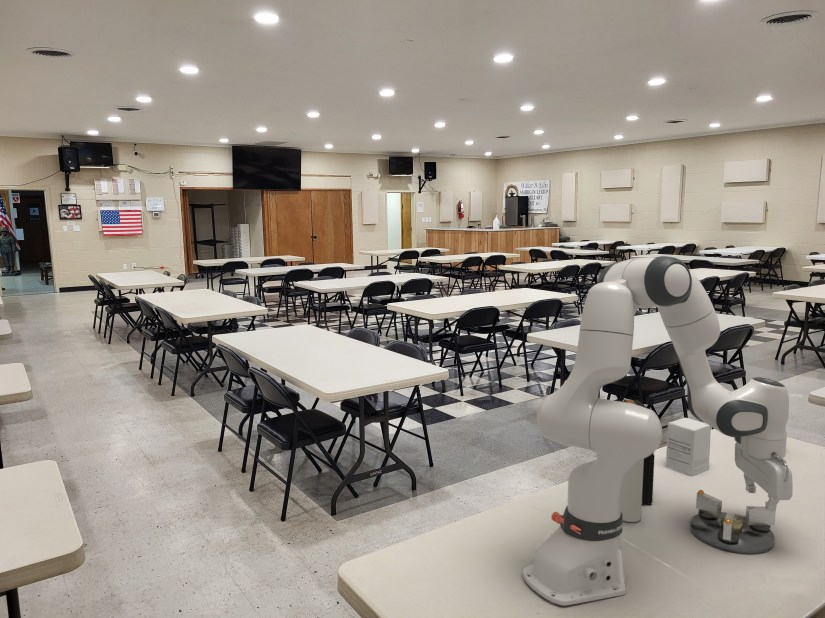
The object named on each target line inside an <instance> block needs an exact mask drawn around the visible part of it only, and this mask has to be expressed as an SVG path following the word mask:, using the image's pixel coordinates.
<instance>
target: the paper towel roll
mask: <svg viewBox="0 0 825 618" xmlns="http://www.w3.org/2000/svg"><path fill="white" fill-rule="evenodd" d="M643 464H644V459H642V460H640V461H639V462H637V463H636V464H635V465H634V466H633V467H632V468H631V469H630V471H629V472H628V474H627V476H626V478H625V481H624V485H623V491H622V500H621V513H622V515H623V522H628V523H637V522H639V521H641V519H642V509H643V507H642V504H643V503H642V486H643Z"/></svg>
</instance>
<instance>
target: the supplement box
mask: <svg viewBox="0 0 825 618" xmlns="http://www.w3.org/2000/svg"><path fill="white" fill-rule="evenodd" d="M711 428H712V427H711V426H710V425H708V424H707V423H705V422H703V421H700V420H695V419H693V418H689V417H682V418H679V419H677V420H674V421H670V422H667V437H666V440H667V441H666V453H665V454H666V455H665V456H666V458H665V460H666V461H665V468H667V469H669V470H672V471H675V472H676V473H677V472H678V473H680V474H682V475H686V476H688V477H695V476H697V475H699V474H702V473H705V472H706V471H709V469H710V451H711V433H712V431H711Z"/></svg>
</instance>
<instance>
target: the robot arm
mask: <svg viewBox="0 0 825 618" xmlns="http://www.w3.org/2000/svg"><path fill="white" fill-rule="evenodd" d="M583 305H584V306H583V309H582V314H581V319H580V325H579V334H578V342H577V348H576V349H577V350H576V355H575V359H574V364H573V366H572V367H573V368H572V370H571V372H570V373H569V375H568V377H567V379H566V380H565V382H564V383H562V385H561V386H560V387H559V388H558V389H556V390H555V391H554V392H553V393H550V394H549V395H547V396H546V397H545V398H544V399H543V400H542V401H541V402H540V404H539V406H538V408H537V411H536V424H537V428H538V430H539V432H540V434H541V436H542V437H543V438H546V439H548V440H550V441H553V442H555V443H558V444H561V445H563V446H567V447H572V448H579V449H583V450H584V449H585V450H590V451H593V452H595V453H596V459H595V460H591V461H588V462H584V463H581V464H579V465H576V467H574V468H573V469H572V470H571V471H570V473H569V475H568V478H567V479H568V480H567V505H566V507H565V509H564V511H563V513H562V514H560V512H558V511H554V512H552V514H551V517H550V518H551V520H552V521H553V522H555V523H556V524H558V525H559V526H558V527H557V528H556V529H555V530H554V531H553V532H552V534H550V536H549V537H547V538H546V539H545V540H544V541H543V542H542V543H541V544H540V545H539V546H538V547H537V549H536V550H535V554H534V559H533V563H531V564H529V565H527V566H525V567H524V568H523V569H522V573H521V574H522V578H523V580H524V581H525V582H526V584H527V585H528V586H529V587H530V588H531V589H532V590H533V591H534V592H536V593H537V594H538V595H539V596H541V597H543V598H544V599H545V600H547V601H549V602H552V603H554V604H556V605H559V606H562V607H563V606H570V605H577V604H581V603H586V602H587V603H588V602H593V601H599V600H603V599H607V598H613V597H619V596H625V595H626V593H627V588H626V584H625V583H626V581H627V574H626V571H625V568H624V567H625V566H624V559H623V551H622V540H621V534H622V532H623V526H624V521H623V515H622V513H621V500H622V491H623V485H624V481H625V478H626V476H627V474H628V472H629V471H630V469H631V468H632V467H633V466H634V465H635V464H636V463H637V462H639V461H640V460H642V459H644V458H646V457H648V456H650V455H651V454H652V453H654V454H655V452H656V450H657V449H658V447H659V446H660V445H661V442H662V436H663V428H662V424H661V421H660V418H659V416H658V415H657V414H656V412H655V411H654V410H652V409H651V408H650V409H649V408H648V409H647V407H646V408H644V407H642V406H638V405H635V404H632V403H627V402H620V401H621V400H611V399H605V398H600V397H599V394H600V391H601V389H602V387H603V386H605V385H608V384H612V383H615V382H617V381H619V380H621V379H623V378H624V377H626V375H628V373H629V371H630V369H631V364H632V363H631V362H632V355H633V354H632V353H633V341H634V333H635V332H634V330H635V315H636V313H637V310H639V309H650V308H657V309H658V312H659V316H660V318H661V320H662V322H663V325H664V328H665V330H666V332H667V334H668V337H669V339H670V341H671V343H672V345H673V348H674V350H675V351H674V352H675V355H676V357H677V361H678V363H679V366H680V369H681V372H682V375H683V378H684V380H685V383H686V388H687V391H686V392H687V393H686V394H687V397H686V398H687V400H686V401H687V402H686V403H687V407H688V410H689V412H690V414H691V415H692V416H693V417H694V418H695V419H697V421H700V422H702V423H706V424H708V425H710V426H711V428H713V429H714V430H715V431H717V432H720V433H721V434H722V435H725V436H727V437H730V438H734V441H735V443H734V463H735V466H736V467H737V468H738V469H739V470H740V471H741V472H743V479H744V482H745V491H747V493H748V494H756V492H757V486H756V485H758V487H760V488H761V489H762V490H763V491H765V493H767V497H768V500H767V501H765V506H764V507H765V508H766V509H767V510H768V511H770V512H774V511H777V505H778V504H779V502H780V501H790V500H791V499H792V497H793V483H794V482H793V473H792V469H791V467H790V466H788V465H787V461H786V460H785V459H784V458H785V457H786V453H787V451H786V450H787V438H788V437H787V436H788V435H787V429H786V426H787V423H788V421H789V416H790V415H789V414H790V411H789V410H790V398H789V391H788V388H787V387H786V386H785V385H784V384H783V383H781V382H779V381H776V380H774V379H770V378H766V377H762V376H761V377H760V376H759V377H758V376H756V377H752V378H750V380H749V381H748V382H747V383H746V384H745V385H743V386H741V387H739V388H738V389H734V390H728V389H727V388H725V387H724V386H723V385H721V384H720V383H719V382H718V381H717V379H716V378H715V377H714V375H713V371H712V369H711V366H710V362H709V360H708V357H707V354H706V350H708V349H710V348H711V347H713V346H714V345H715V344H716V342H717V341H718V340H719V337H720V336H721V335H720V334H721V327H720V321H719V318H718V315H717V312H716V310H715V308H714V306H713V303H712V301H711V298H710V297H709V295H708V292H707V290H706V289H705V288H704V286H703V284H702V282H701V281H700V280H699V278H698V277H697V275H696V274H695V273H694V272H693V271H691V270H690V269H689V268H688V266H687V265H686V263H684V261H682V260H681V259H679V258H677V257H673V256H665V255H661V256H657V257H656V256H654V257H652V256H651V257H634V258H630V259H626V260H620V261H616V262H615V261H614V262H613V263H610V264H609V265H606V266H605V267H604V268H603V269H602V270H601V272H600V274H599V276H598V279H597V283H595V284H594V285H592V286H591V287H590V288H589V291H588V292H587V294H586V299H585V302H584V304H583ZM755 484H756V485H755Z"/></svg>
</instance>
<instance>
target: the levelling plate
mask: <svg viewBox="0 0 825 618" xmlns="http://www.w3.org/2000/svg"><path fill="white" fill-rule="evenodd" d="M734 514H735V522H734V531H733V532H735V533H737V534H738V535H739V542H738V543H737V544H728V543H724V542H722V541H720V540H719V539H718V531H719V530H723V528H724V521H725V518H726V515H727V512H726V511H721V516H720V517H718V519H717V520H715V521H709V520H705V519H702V518H700V517H699V515H698V513H697V514H696V515H693V516H692V517H691V519H690V521H689V522H690V524H689V526H690V528H689V530H690V531H691V532H690V533H691V534H692V535H693V536H694V537H695V538H696V539H698V540H699V541H700V542H702V543H703V544H705V545H708V546H710V547H713V548H714V549H717V550H719V551H724V552H728V553H731V554H732V553H733V554H740V555H761V554H766V553H768V552H771V550H772V549H773V548H774V547H775V534H774V533H773V531H771V529H770V532H768V533H759V532H756V531H753V530H752V529H750V528H749V525H748V524H747V523H746V522H745V520H746V516H745V515H740V514H736V513H734Z"/></svg>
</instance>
